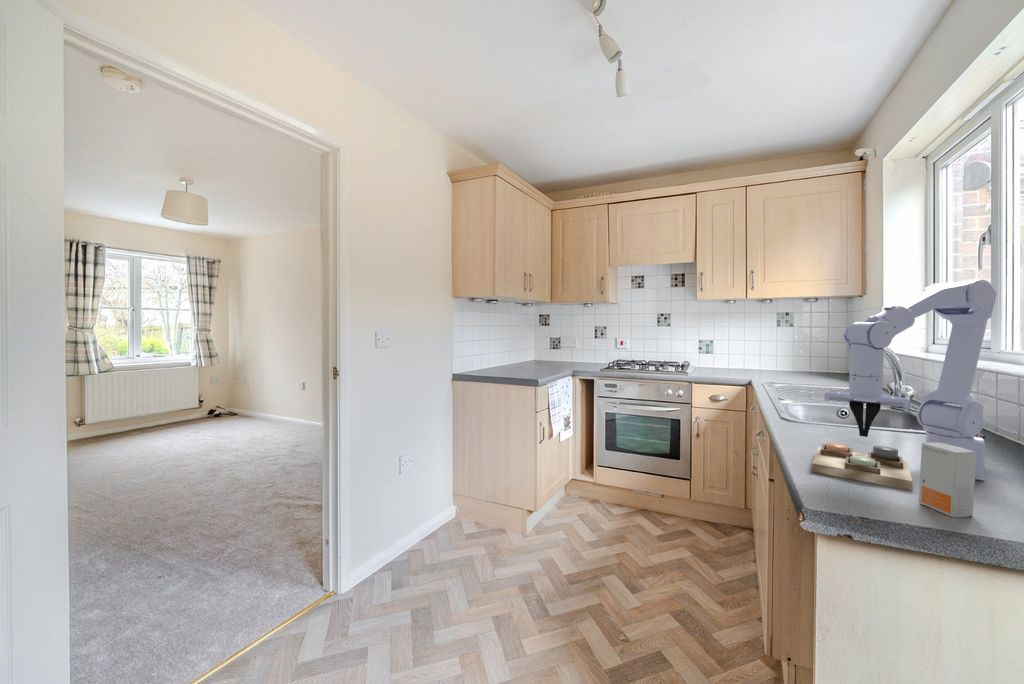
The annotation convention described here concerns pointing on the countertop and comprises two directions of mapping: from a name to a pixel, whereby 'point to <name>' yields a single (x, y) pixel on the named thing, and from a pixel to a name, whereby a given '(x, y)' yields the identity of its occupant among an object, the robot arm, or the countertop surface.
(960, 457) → the skincare box
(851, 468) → the button panel
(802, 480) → the countertop surface
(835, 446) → the terracotta button
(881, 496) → the countertop surface
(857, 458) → the sage button
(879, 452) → the charcoal button
